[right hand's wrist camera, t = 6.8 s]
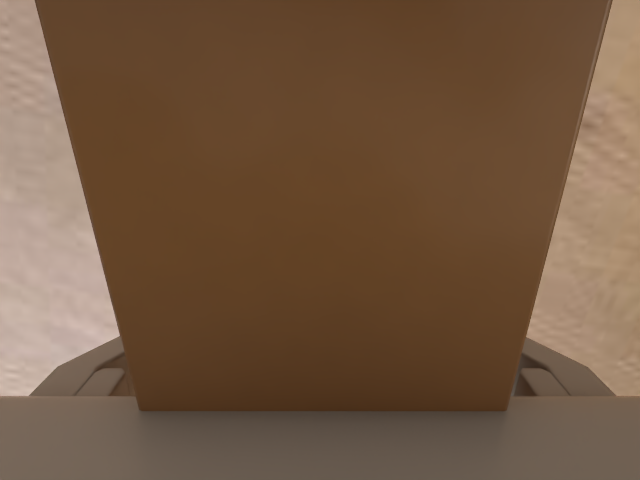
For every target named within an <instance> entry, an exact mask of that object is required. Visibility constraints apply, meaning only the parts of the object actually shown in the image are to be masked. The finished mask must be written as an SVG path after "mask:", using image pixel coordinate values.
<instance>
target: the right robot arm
mask: <svg viewBox="0 0 640 480" xmlns="http://www.w3.org/2000/svg"><path fill="white" fill-rule="evenodd" d="M0 480H640V396H616V395H615V394H614V393H613V392H612V391H611V390H610V389H609V388H608V387H607V386H606V385H605V384H604V383H603V382H602V381H601V380H600V379H599V378H598V377H597V376H596V375H595V374H594V373H593V372H592V371H591V370H590V369H589V368H588V367H586V366H584V365H582V364H580V363H578V362H576V361H574V360H572V359H570V358H568V357H566V356H564V355H562V354H560V353H558V352H555V351H553V350H551V349H549V348H547V347H545V346H543V345H541V344H539V343H537V342H535V341H533V340H531V339H529V338H527V337H526V338H525V342H524V346H523V350H522V353H521V357H520V361H519V365H518V369H517V373H516V377H515V381H514V384H513V388H512V392H511V396H510V400H509V404H508V408H507V410H506V411H141V410H139V408H138V404H137V400H136V396H135V392H134V388H133V384H132V380H131V376H130V372H129V368H128V364H127V361H126V357H125V353H124V349H123V345H122V341H121V337H120V336H119V337H117V338H115V339H113V340H111V341H109V342H107V343H105V344H103V345H101V346H99V347H97V348H95V349H93V350H91V351H89V352H87V353H85V354H83V355H81V356H79V357H77V358H75V359H73V360H70V361H68V362H66V363H64V364H62V365H60V366H58V367H57V368H56V369H55V370H54V371H53V372H52V373H51V374H50V375H49V376H48V377H47V378H46V379H45V380H44V381H43V382H42V383H41V384H40V385H39V386H38V387H37V388H36V389H35V390H34V391H33V392H32V393H31V394H30V395H29V396H0Z"/></svg>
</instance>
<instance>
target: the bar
mask: <svg viewBox="0 0 640 480" xmlns="http://www.w3.org/2000/svg"><path fill="white" fill-rule="evenodd" d="M612 1H613V0H35V3H36V7H37V11H38V15H39V19H40V22H41V26H42V30H43V34H44V38H45V42H46V46H47V50H48V54H49V58H50V62H51V66H52V70H53V74H54V77H55V81H56V85H57V89H58V93H59V97H60V101H61V105H62V109H63V113H64V117H65V121H66V125H67V129H68V133H69V136H70V140H71V144H72V148H73V152H74V156H75V160H76V164H77V168H78V172H79V176H80V180H81V184H82V188H83V191H84V195H85V199H86V203H87V207H88V211H89V215H90V219H91V223H92V227H93V231H94V235H95V239H96V243H97V247H98V250H99V254H100V258H101V262H102V266H103V270H104V274H105V278H106V282H107V286H108V290H109V294H110V298H111V302H112V305H113V309H114V313H115V317H116V321H117V325H118V329H119V333H120V337H121V341H122V345H123V349H124V353H125V357H126V361H127V364H128V368H129V372H130V376H131V380H132V384H133V388H134V392H135V396H136V400H137V404H138V408H139V410H141V411H506V410H507V408H508V404H509V400H510V396H511V392H512V388H513V384H514V381H515V377H516V373H517V369H518V365H519V361H520V357H521V353H522V350H523V346H524V342H525V338H526V334H527V330H528V326H529V322H530V319H531V315H532V311H533V307H534V303H535V299H536V295H537V291H538V288H539V284H540V280H541V276H542V272H543V268H544V264H545V260H546V256H547V253H548V249H549V245H550V241H551V237H552V233H553V229H554V225H555V222H556V218H557V214H558V210H559V206H560V202H561V198H562V194H563V191H564V187H565V183H566V179H567V175H568V171H569V167H570V163H571V160H572V156H573V152H574V148H575V144H576V140H577V136H578V132H579V129H580V125H581V121H582V117H583V113H584V109H585V105H586V101H587V97H588V94H589V90H590V86H591V82H592V78H593V74H594V70H595V66H596V63H597V59H598V55H599V51H600V47H601V43H602V39H603V35H604V32H605V28H606V24H607V20H608V16H609V12H610V8H611V4H612Z"/></svg>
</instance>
